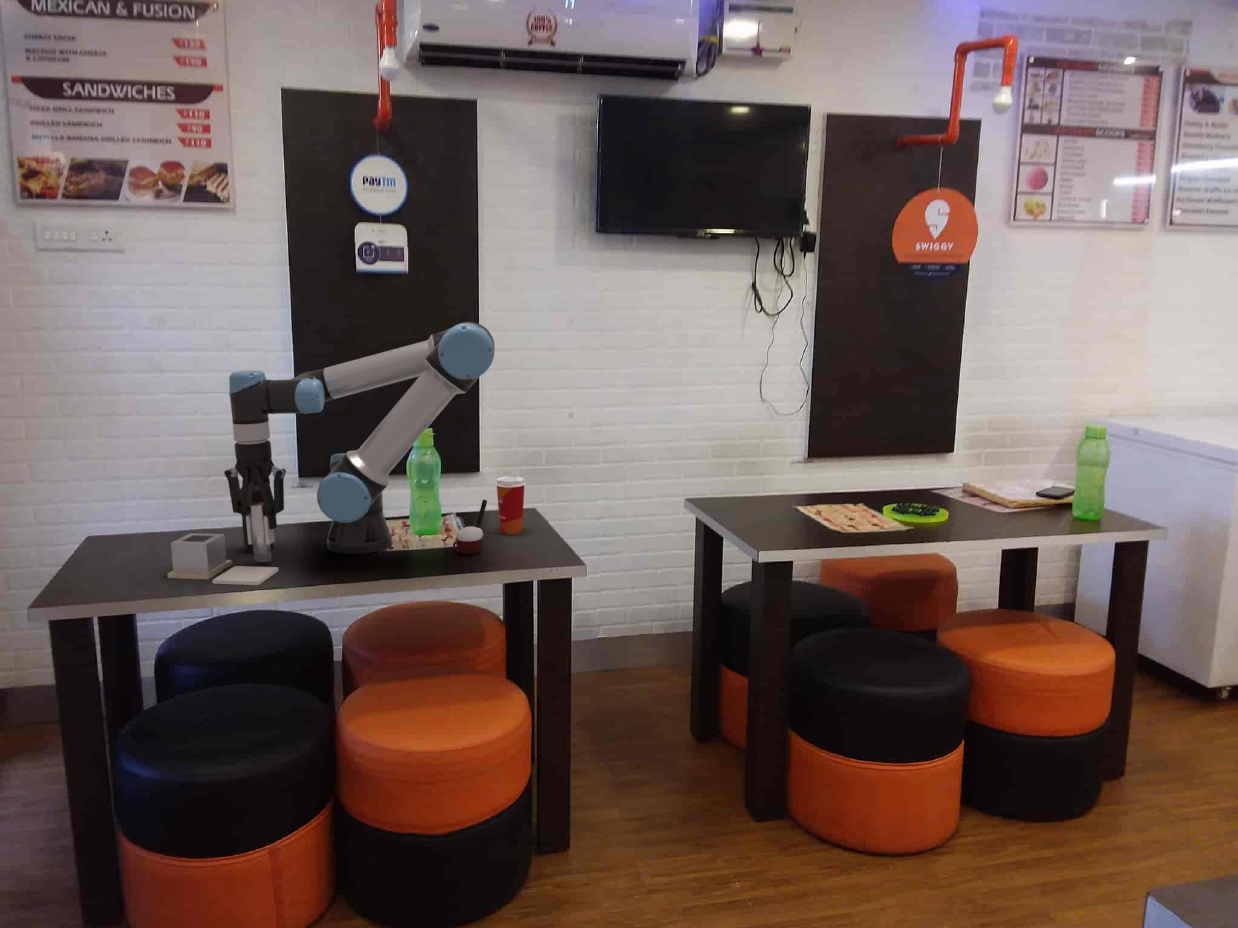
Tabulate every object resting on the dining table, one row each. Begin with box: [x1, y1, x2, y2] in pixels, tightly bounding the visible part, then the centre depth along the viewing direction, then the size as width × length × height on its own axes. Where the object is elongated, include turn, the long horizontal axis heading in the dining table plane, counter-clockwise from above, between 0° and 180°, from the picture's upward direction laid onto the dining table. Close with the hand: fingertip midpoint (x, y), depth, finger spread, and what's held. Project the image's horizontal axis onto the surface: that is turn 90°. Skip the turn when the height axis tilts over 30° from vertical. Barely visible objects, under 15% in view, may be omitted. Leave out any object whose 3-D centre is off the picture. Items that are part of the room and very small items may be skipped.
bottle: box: [240, 482, 275, 553], centre depth 225 cm, size 7×7×20 cm
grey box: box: [166, 532, 233, 581], centre depth 211 cm, size 9×16×8 cm, turn 175°
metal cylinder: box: [250, 502, 272, 563], centre depth 213 cm, size 4×4×13 cm
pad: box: [212, 565, 279, 586], centre depth 206 cm, size 10×10×1 cm
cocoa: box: [452, 499, 488, 556], centre depth 224 cm, size 10×6×12 cm, turn 111°
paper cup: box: [495, 476, 527, 536], centre depth 242 cm, size 8×8×14 cm
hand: (261, 542), depth 214 cm, fingers closed on metal cylinder, 3 cm apart
